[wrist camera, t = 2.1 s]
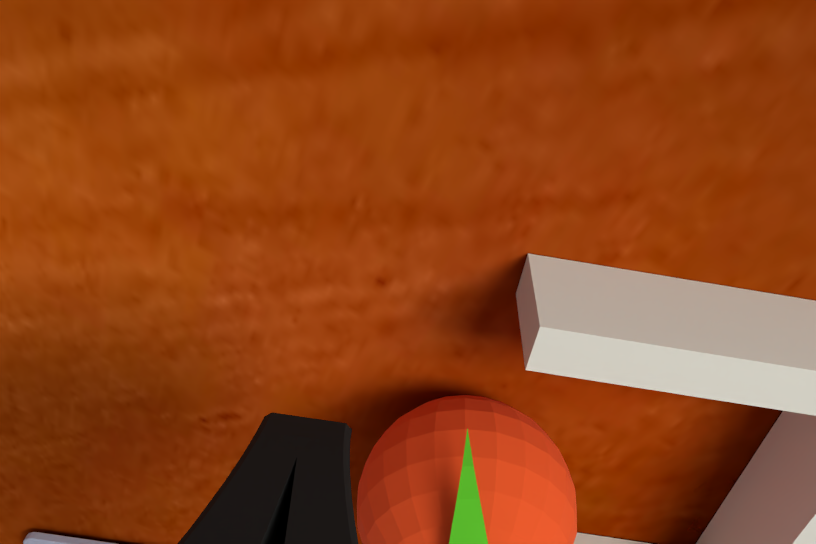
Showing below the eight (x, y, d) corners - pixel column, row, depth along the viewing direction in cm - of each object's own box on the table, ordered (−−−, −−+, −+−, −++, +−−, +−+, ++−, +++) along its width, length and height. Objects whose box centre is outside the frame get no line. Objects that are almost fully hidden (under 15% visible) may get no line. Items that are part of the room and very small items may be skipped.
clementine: (357, 325, 22) (322, 509, 16) (573, 325, 22) (617, 515, 16) (375, 486, 27) (352, 677, 21) (555, 489, 26) (584, 686, 20)
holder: (712, 575, 28) (742, 662, 26) (442, 535, 28) (440, 619, 25) (898, 314, 21) (971, 396, 18) (527, 253, 20) (540, 326, 17)
